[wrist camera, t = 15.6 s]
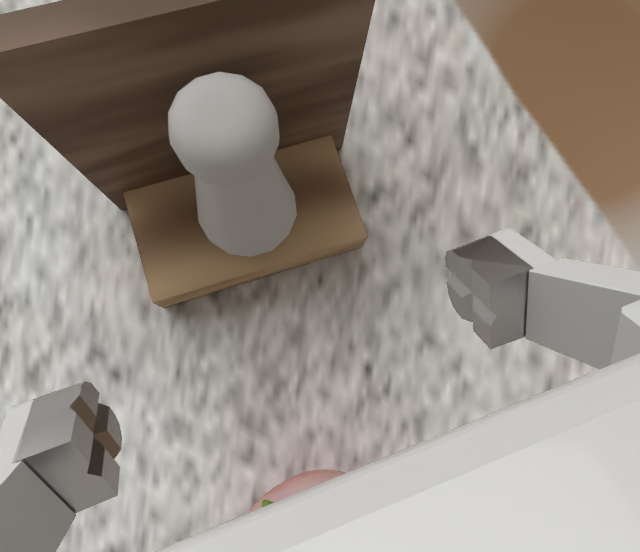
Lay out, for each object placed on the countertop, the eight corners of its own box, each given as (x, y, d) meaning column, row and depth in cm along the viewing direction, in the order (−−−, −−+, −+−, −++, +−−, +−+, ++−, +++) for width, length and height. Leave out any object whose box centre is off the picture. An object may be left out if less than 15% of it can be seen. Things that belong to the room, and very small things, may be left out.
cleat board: (375, 242, 33) (451, 128, 17) (148, 312, 31) (3, 256, 15) (334, 129, 34) (371, -70, 19) (116, 190, 33) (-48, 25, 17)
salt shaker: (313, 209, 31) (329, 96, 18) (263, 282, 29) (241, 217, 17) (238, 161, 31) (201, 17, 18) (186, 231, 30) (107, 130, 17)
